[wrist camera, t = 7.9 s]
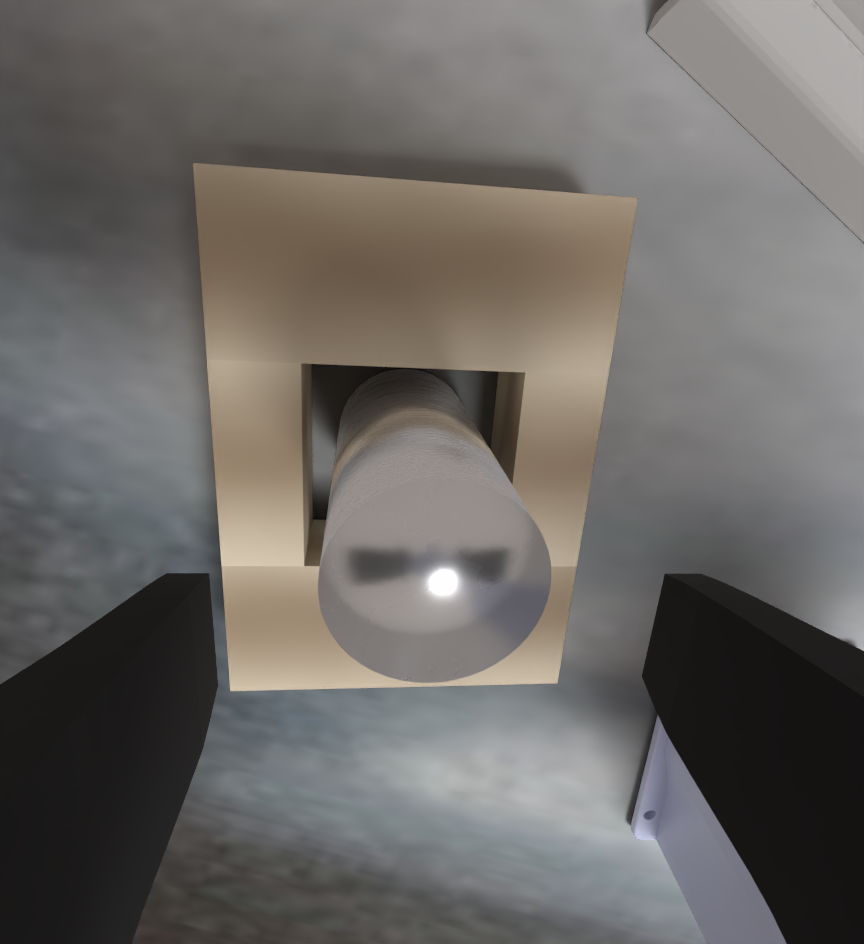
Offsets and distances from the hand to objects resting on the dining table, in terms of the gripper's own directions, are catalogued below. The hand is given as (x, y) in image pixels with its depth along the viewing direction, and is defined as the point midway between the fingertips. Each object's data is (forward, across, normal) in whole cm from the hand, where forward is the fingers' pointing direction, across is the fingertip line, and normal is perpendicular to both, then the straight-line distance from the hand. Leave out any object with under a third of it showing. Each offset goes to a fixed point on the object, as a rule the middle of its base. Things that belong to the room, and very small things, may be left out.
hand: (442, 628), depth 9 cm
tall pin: (+10, 0, 0) cm, 10 cm away
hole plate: (+10, 0, 0) cm, 10 cm away
